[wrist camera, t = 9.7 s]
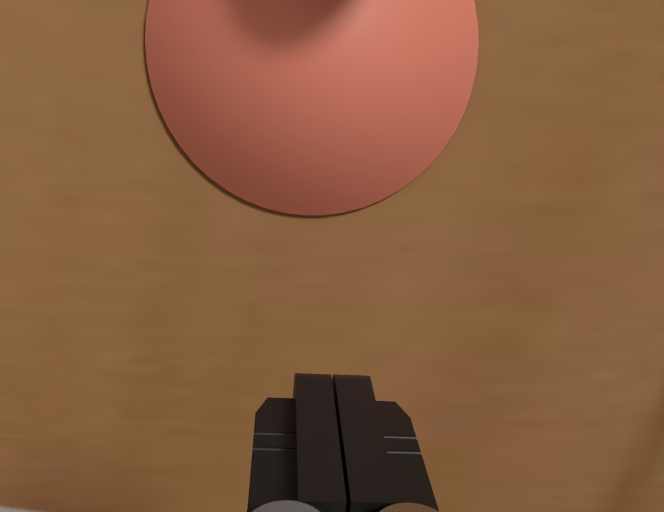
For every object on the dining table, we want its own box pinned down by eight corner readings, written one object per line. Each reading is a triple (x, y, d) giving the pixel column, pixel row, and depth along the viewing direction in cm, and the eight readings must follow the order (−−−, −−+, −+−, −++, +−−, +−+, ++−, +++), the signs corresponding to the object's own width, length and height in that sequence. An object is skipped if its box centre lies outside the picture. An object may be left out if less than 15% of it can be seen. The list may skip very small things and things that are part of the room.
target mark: (504, -115, 24) (506, -116, 24) (450, 223, 29) (451, 224, 29) (141, -156, 23) (140, -157, 23) (149, 204, 28) (148, 206, 28)
